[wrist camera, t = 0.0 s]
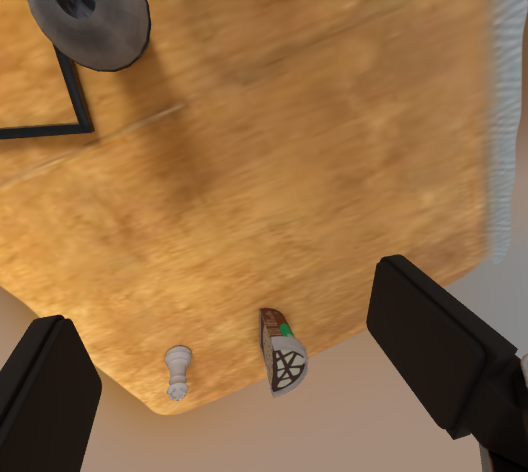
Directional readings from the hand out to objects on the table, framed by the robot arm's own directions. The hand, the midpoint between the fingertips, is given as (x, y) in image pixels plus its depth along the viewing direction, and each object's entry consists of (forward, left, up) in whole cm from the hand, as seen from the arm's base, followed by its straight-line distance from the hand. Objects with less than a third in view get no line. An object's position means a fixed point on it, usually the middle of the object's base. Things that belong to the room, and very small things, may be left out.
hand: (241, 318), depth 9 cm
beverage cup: (-11, -6, -31) cm, 34 cm away
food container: (+34, +9, -31) cm, 47 cm away
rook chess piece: (+36, -9, -31) cm, 49 cm away
